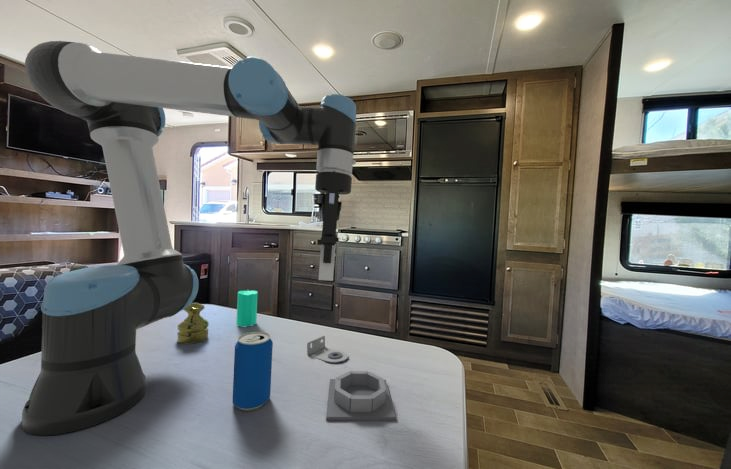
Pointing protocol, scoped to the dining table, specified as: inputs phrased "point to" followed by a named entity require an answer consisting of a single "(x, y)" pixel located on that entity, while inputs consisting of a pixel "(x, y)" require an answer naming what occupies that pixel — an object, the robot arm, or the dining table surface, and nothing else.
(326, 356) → the bracket
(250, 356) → the beverage can
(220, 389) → the dining table surface
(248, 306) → the candle
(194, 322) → the yellow knotted piece
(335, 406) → the cup holder
